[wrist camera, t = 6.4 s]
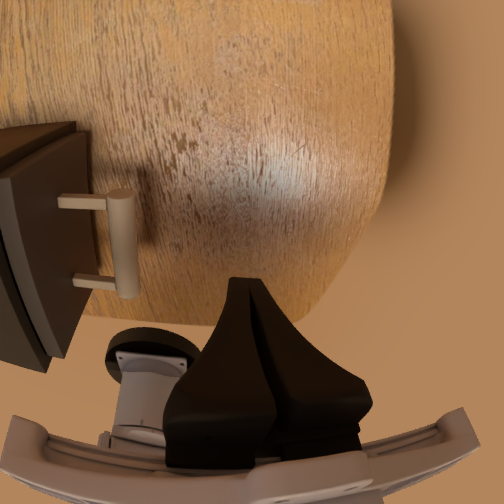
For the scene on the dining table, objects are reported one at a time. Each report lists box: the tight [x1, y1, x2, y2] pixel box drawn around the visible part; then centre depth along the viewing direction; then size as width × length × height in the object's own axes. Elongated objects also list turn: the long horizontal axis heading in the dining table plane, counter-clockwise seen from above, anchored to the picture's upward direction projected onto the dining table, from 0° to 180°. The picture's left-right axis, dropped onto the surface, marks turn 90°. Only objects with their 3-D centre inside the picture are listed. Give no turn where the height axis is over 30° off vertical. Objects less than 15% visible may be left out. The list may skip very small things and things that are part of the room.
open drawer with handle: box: [0, 133, 141, 359], centre depth 13 cm, size 18×10×8 cm, turn 81°
